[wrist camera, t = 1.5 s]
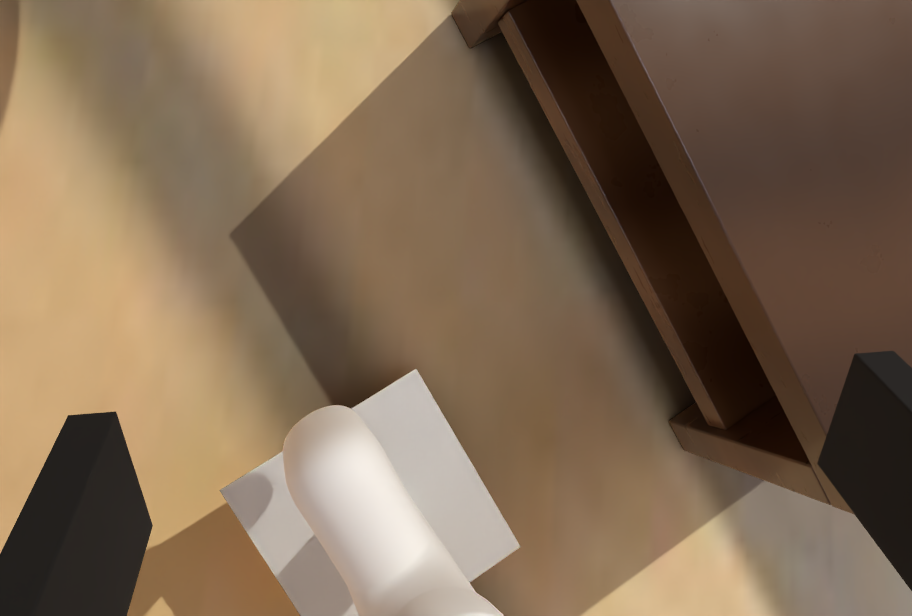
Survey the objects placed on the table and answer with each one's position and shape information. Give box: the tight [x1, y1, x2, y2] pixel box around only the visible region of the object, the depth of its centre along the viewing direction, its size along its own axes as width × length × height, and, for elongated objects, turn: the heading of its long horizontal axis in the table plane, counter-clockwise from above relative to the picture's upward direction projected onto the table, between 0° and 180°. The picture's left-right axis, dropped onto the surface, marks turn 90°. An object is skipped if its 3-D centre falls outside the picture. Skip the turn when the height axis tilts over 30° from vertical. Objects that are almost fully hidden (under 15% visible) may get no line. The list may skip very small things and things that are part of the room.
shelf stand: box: [452, 0, 912, 514], centre depth 27 cm, size 20×14×10 cm
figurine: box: [220, 369, 521, 616], centre depth 21 cm, size 7×9×15 cm
